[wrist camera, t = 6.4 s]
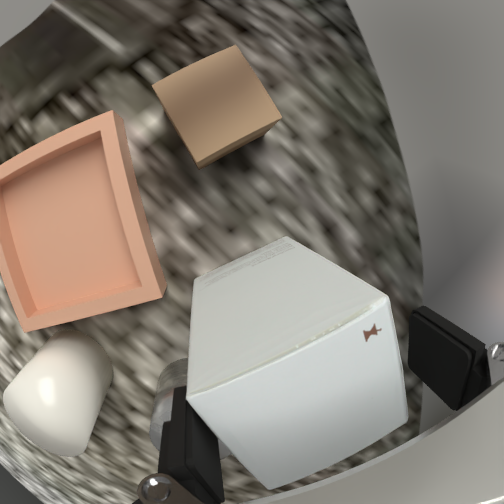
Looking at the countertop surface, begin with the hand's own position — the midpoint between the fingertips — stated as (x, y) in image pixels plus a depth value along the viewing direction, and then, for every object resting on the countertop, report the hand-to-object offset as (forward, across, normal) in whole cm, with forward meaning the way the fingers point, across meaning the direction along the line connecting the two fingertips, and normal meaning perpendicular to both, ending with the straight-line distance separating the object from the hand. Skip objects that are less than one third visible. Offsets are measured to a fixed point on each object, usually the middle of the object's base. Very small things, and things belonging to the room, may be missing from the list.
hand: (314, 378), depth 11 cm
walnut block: (+11, 0, -12) cm, 17 cm away
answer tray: (+11, +12, -8) cm, 18 cm away
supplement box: (+11, 0, +1) cm, 11 cm away
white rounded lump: (+10, +16, +2) cm, 20 cm away
